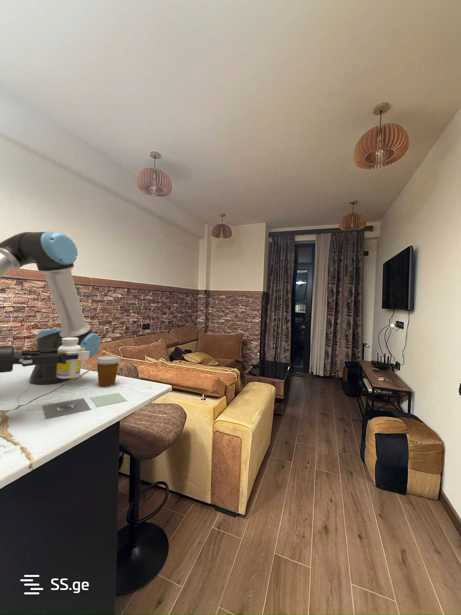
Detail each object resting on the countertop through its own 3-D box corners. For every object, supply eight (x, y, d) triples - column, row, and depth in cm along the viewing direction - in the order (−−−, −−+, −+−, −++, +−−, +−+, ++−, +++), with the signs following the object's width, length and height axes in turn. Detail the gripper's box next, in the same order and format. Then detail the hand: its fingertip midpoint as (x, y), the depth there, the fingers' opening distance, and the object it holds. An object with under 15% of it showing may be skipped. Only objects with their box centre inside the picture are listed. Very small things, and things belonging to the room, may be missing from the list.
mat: (90, 398, 89) (90, 397, 89) (118, 392, 96) (118, 392, 96) (96, 407, 82) (96, 406, 82) (126, 400, 89) (126, 400, 89)
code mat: (42, 405, 81) (42, 405, 81) (83, 398, 89) (83, 398, 89) (45, 419, 72) (45, 418, 72) (90, 409, 80) (90, 409, 80)
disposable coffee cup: (108, 389, 99) (110, 360, 100) (89, 386, 101) (90, 358, 101) (123, 382, 109) (124, 356, 109) (105, 380, 111) (106, 354, 111)
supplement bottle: (76, 372, 85) (78, 336, 85) (83, 376, 81) (85, 338, 81) (53, 376, 80) (55, 337, 80) (59, 380, 76) (62, 340, 76)
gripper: (-4, 365, 76) (80, 358, 91) (-9, 381, 61) (92, 370, 76) (-2, 342, 76) (81, 339, 91) (-7, 352, 61) (93, 346, 76)
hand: (86, 353), depth 84 cm, fingers closed on supplement bottle, 7 cm apart
